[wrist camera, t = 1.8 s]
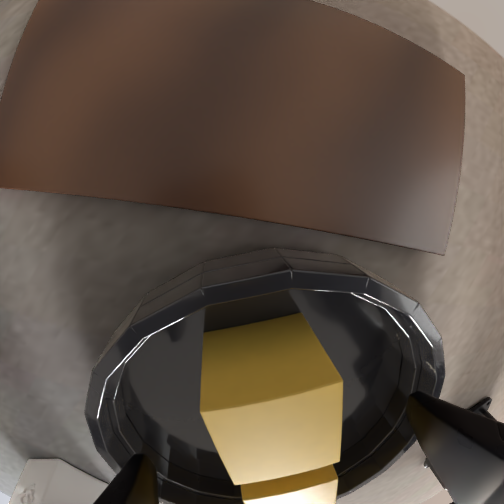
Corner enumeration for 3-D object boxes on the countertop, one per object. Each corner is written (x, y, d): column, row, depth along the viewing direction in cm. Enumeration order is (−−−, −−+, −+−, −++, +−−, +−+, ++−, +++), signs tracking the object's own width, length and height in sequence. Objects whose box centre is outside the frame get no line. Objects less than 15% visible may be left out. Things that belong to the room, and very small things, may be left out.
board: (450, 79, 10) (465, 74, 9) (429, 249, 12) (444, 256, 11) (50, 6, 7) (40, -4, 6) (2, 185, 9) (-14, 187, 8)
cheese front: (301, 311, 12) (343, 379, 7) (309, 391, 13) (340, 462, 8) (203, 332, 11) (199, 411, 7) (227, 409, 12) (234, 485, 8)
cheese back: (311, 411, 13) (338, 478, 9) (314, 456, 14) (334, 512, 10) (233, 428, 13) (242, 500, 9) (249, 470, 14) (259, 529, 10)
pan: (416, 215, 12) (464, 229, 9) (392, 442, 16) (411, 471, 13) (56, 286, 11) (18, 318, 8) (171, 490, 15) (169, 525, 12)
